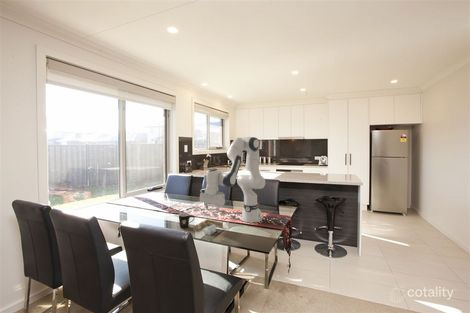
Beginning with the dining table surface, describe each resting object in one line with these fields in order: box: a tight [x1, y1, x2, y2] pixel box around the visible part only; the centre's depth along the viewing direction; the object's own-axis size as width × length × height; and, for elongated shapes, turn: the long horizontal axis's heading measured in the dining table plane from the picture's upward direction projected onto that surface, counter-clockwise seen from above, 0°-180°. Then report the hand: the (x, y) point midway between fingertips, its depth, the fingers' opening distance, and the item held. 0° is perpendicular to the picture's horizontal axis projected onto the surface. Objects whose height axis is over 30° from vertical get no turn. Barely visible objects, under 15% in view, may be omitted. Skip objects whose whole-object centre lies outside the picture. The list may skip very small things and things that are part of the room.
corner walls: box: [193, 218, 224, 232], centre depth 182 cm, size 17×16×4 cm
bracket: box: [204, 224, 217, 236], centre depth 175 cm, size 7×5×6 cm
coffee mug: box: [178, 212, 195, 229], centre depth 186 cm, size 12×9×10 cm
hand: (212, 209), depth 173 cm, fingers open, 8 cm apart
